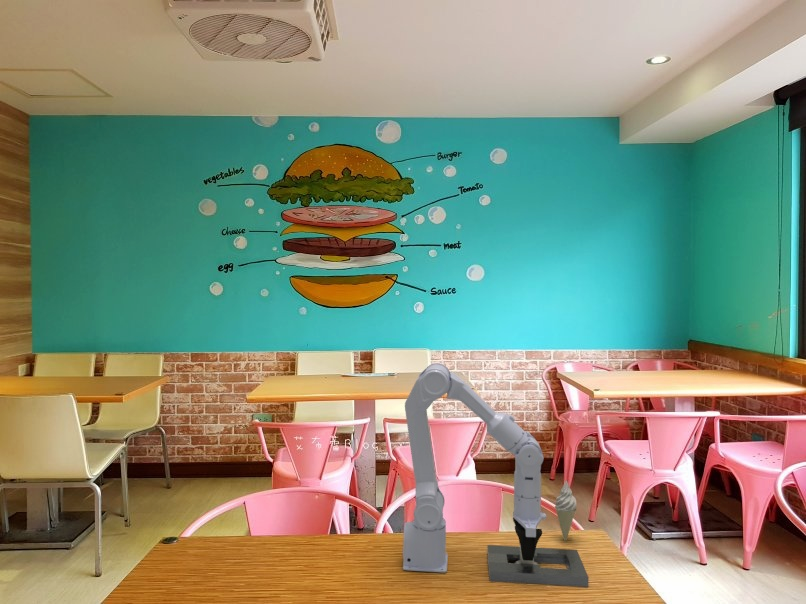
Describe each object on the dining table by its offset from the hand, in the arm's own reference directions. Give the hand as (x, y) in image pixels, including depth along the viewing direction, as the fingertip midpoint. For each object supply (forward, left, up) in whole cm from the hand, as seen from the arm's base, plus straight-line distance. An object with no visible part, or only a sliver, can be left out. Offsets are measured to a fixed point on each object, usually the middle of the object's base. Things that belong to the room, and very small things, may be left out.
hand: (526, 555), depth 121 cm
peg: (0, 0, -3) cm, 3 cm away
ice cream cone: (+11, +15, -3) cm, 19 cm away
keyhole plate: (+2, 0, -3) cm, 3 cm away
